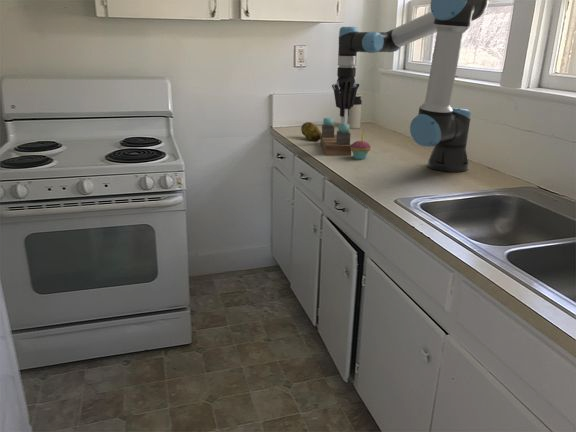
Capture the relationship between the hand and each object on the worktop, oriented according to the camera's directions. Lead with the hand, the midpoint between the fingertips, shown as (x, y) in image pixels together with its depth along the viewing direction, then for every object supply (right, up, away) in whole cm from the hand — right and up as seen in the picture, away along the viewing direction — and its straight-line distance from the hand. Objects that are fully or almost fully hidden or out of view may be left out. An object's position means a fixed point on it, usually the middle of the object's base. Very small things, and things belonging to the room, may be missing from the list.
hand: (343, 124), depth 206 cm
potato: (-13, -2, +31) cm, 34 cm away
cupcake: (+6, -15, -5) cm, 17 cm away
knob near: (0, -8, +3) cm, 8 cm away
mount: (-3, -9, +12) cm, 15 cm away
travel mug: (+12, +10, +63) cm, 65 cm away
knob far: (-5, -2, +18) cm, 19 cm away
